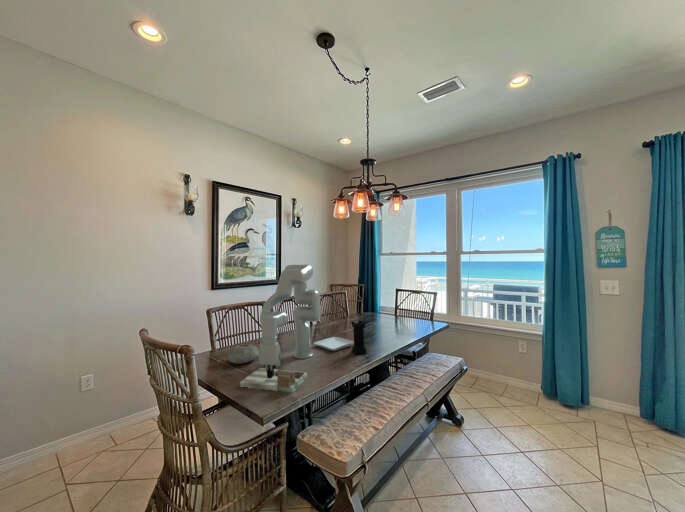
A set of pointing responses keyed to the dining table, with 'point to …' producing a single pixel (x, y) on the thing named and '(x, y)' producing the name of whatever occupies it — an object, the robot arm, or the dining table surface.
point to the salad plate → (334, 343)
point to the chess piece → (358, 338)
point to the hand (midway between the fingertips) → (270, 377)
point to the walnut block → (286, 379)
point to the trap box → (271, 380)
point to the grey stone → (242, 353)
